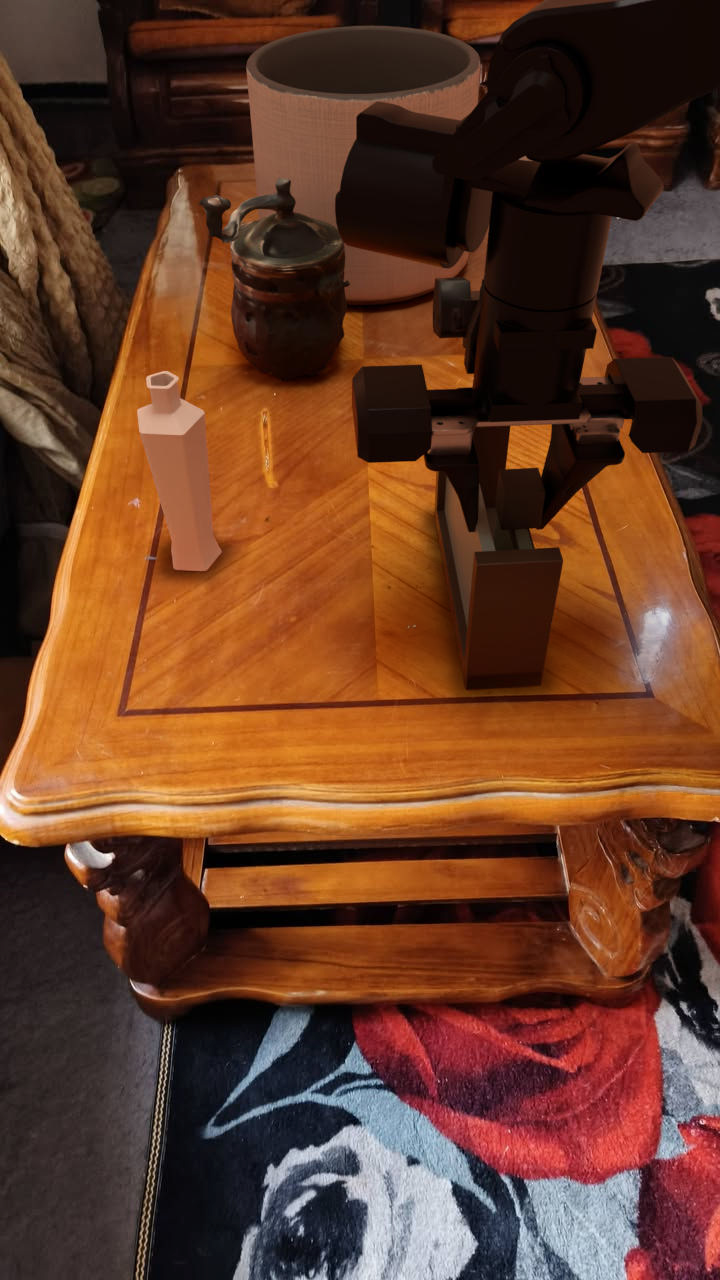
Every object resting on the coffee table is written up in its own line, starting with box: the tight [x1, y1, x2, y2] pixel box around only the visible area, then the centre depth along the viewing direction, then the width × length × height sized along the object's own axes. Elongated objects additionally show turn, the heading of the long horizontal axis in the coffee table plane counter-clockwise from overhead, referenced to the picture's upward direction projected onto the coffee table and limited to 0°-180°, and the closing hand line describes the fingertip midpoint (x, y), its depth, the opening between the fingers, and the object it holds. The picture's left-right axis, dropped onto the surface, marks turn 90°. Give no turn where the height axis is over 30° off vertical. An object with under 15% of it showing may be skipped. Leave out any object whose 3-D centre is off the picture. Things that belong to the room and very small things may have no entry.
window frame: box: [433, 426, 564, 691], centre depth 65 cm, size 5×18×11 cm, turn 3°
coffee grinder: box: [198, 178, 350, 382], centre depth 84 cm, size 13×15×18 cm
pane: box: [494, 467, 546, 551], centre depth 61 cm, size 2×7×11 cm, turn 3°
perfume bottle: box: [136, 370, 223, 572], centre depth 67 cm, size 5×4×15 cm
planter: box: [246, 25, 481, 306], centre depth 98 cm, size 23×23×20 cm
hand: (504, 526), depth 59 cm, fingers open, 4 cm apart
